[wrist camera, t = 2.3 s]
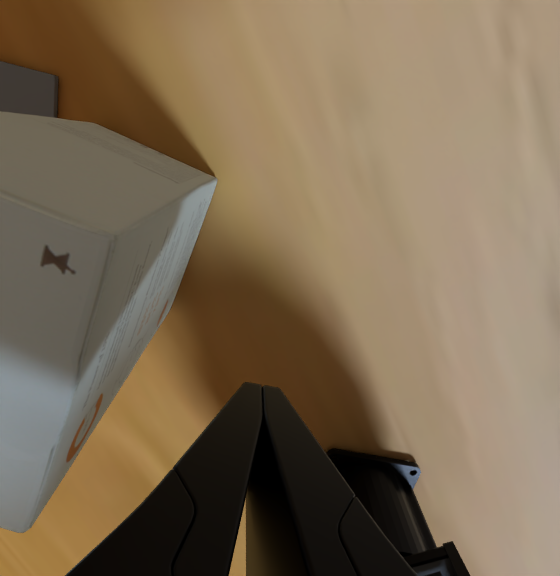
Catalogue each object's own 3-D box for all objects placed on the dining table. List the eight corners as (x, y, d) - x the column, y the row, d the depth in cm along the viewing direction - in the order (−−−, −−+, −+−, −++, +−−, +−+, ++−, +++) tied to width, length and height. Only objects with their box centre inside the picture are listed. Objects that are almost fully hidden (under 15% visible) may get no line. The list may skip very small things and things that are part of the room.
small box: (93, 120, 17) (-315, 56, 5) (221, 177, 18) (125, 234, 6) (56, 271, 20) (-279, 464, 8) (169, 314, 21) (31, 543, 9)
